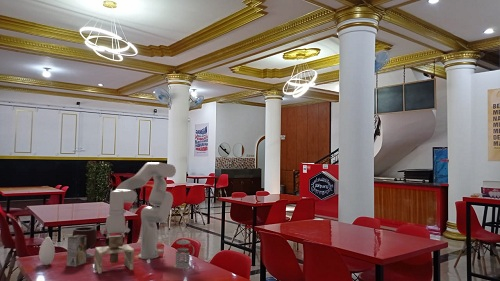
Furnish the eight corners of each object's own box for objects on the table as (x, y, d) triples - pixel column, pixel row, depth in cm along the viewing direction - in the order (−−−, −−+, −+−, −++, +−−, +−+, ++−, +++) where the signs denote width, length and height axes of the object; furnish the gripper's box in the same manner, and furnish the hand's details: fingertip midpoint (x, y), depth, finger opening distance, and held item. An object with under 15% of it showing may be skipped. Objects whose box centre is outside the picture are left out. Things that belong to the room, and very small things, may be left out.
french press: (172, 264, 224) (173, 221, 226) (191, 263, 229) (192, 221, 230) (175, 269, 215) (177, 224, 217) (195, 267, 220) (197, 223, 221)
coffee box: (76, 261, 225) (78, 234, 226) (86, 262, 223) (87, 235, 224) (66, 265, 216) (67, 237, 217) (76, 266, 214) (77, 237, 215)
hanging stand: (126, 263, 224) (127, 244, 224) (132, 269, 212) (133, 249, 212) (94, 267, 214) (95, 247, 215) (98, 273, 202) (99, 252, 203)
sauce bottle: (56, 264, 217) (58, 232, 218) (41, 267, 211) (43, 234, 213) (51, 262, 222) (52, 231, 224) (36, 264, 217) (38, 232, 218)
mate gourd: (68, 259, 230) (70, 225, 231) (73, 254, 243) (75, 222, 245) (96, 258, 234) (97, 225, 235) (99, 253, 247) (101, 222, 248)
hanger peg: (118, 260, 218) (120, 235, 219) (121, 262, 212) (122, 237, 213) (106, 261, 214) (107, 236, 215) (108, 264, 208) (109, 238, 209)
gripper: (130, 211, 223) (128, 242, 222) (98, 212, 214) (97, 244, 213) (133, 212, 216) (132, 244, 215) (101, 214, 207) (99, 247, 206)
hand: (114, 244), depth 214 cm, fingers closed on hanger peg, 7 cm apart
